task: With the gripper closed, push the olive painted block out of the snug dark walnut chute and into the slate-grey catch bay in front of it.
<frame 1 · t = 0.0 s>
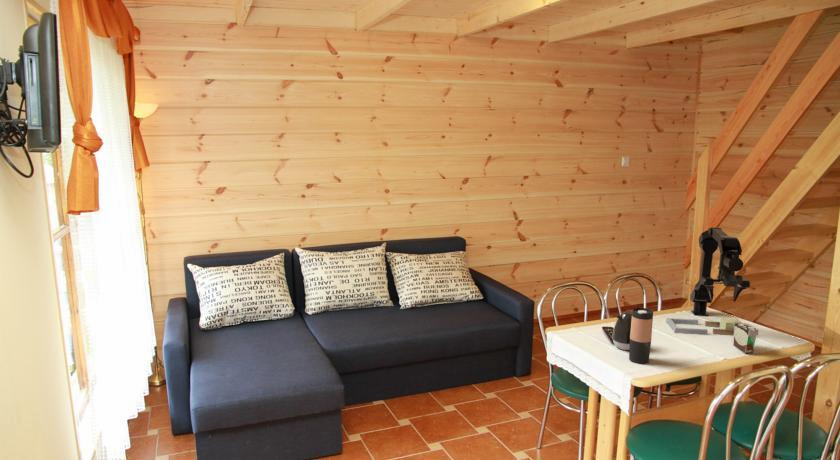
hand: (722, 301, 256), 15 cm above the table, tool pointing down, fingers open, 9 cm apart
olive block: (730, 331, 262), on the table
food container: (746, 350, 239), on the table
travel mug: (638, 361, 226), on the table
catch bay: (687, 328, 265), on the table
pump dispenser: (624, 348, 239), on the table
walnut chute: (728, 330, 262), on the table
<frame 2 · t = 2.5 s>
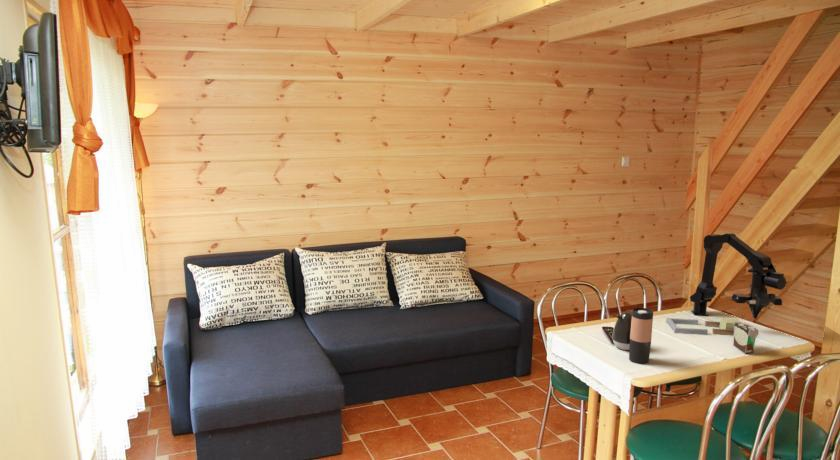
hand: (754, 318, 260), 6 cm above the table, tool pointing down, fingers closed
nothing on the table moved.
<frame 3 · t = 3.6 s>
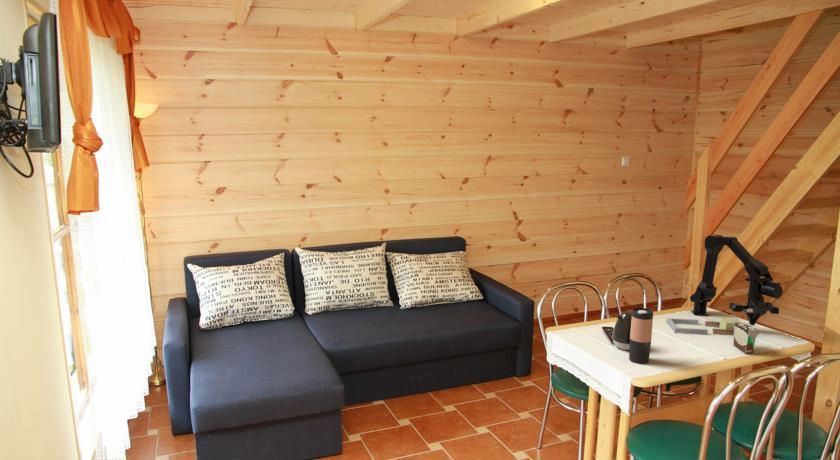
hand: (751, 326, 260), 2 cm above the table, tool pointing down, fingers closed
nothing on the table moved.
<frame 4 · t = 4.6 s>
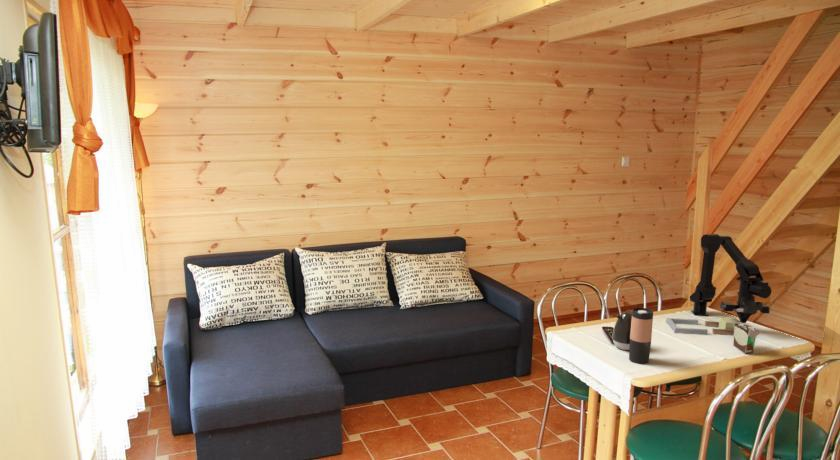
hand: (742, 326, 261), 2 cm above the table, tool pointing down, fingers closed
olive block: (729, 331, 262), on the table, touching gripper
everything else where it was.
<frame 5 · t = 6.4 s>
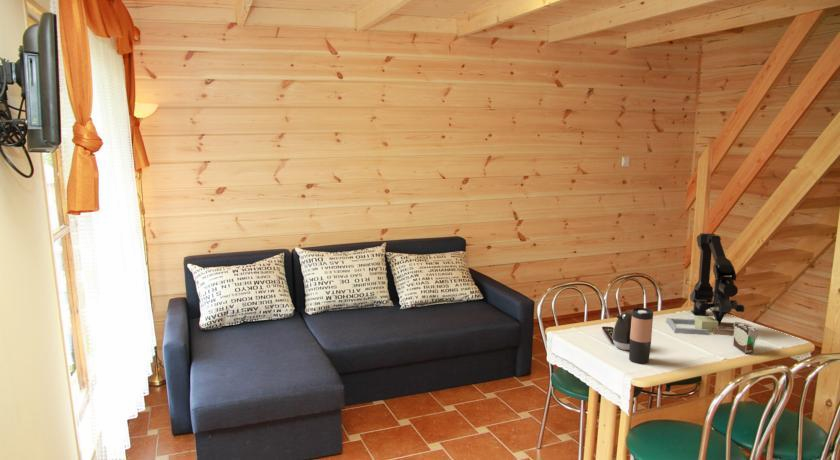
hand: (717, 324, 262), 3 cm above the table, tool pointing down, fingers closed
olive block: (705, 329, 263), on the table, touching gripper
everything else where it was.
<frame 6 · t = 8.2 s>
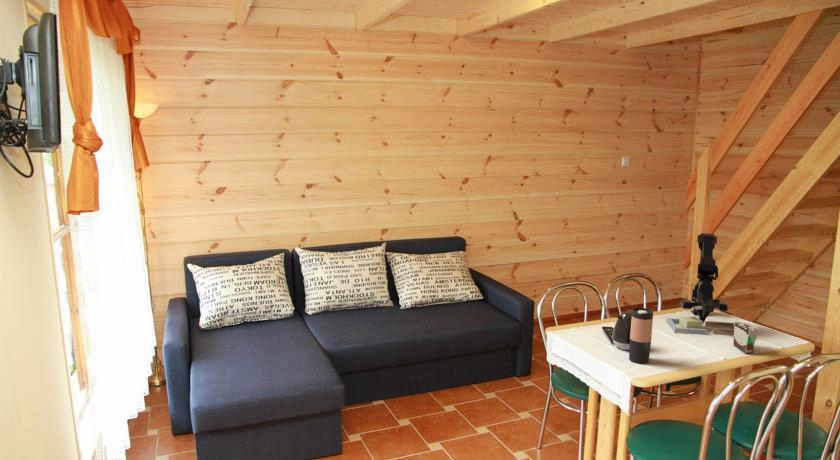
hand: (701, 323, 263), 3 cm above the table, tool pointing down, fingers closed
olive block: (690, 329, 263), on the table
everything else where it was.
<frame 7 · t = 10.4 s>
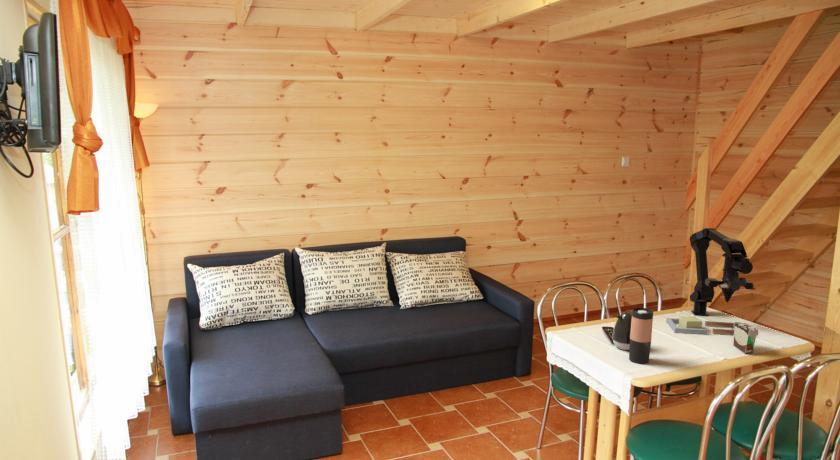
hand: (726, 301, 266), 12 cm above the table, tool pointing down, fingers closed
nothing on the table moved.
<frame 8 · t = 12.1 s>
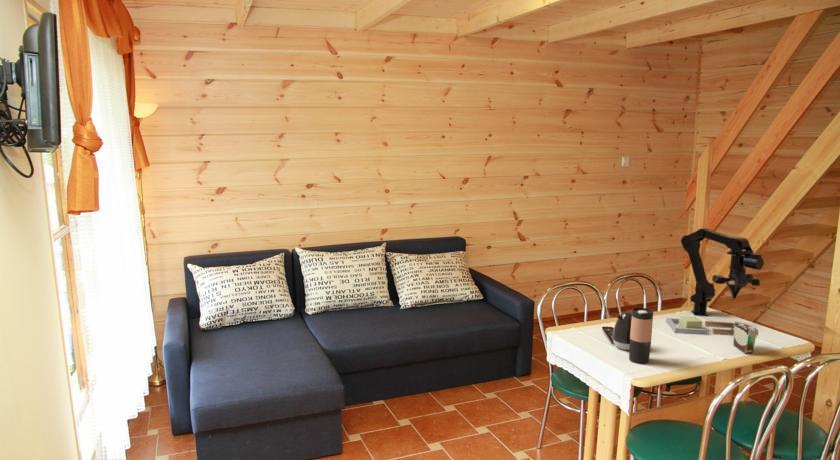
hand: (733, 298, 270), 12 cm above the table, tool pointing down, fingers closed
nothing on the table moved.
at the end: olive block inside the target area (1.2 cm from its centre), on the table; olive block tilted 0° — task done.
